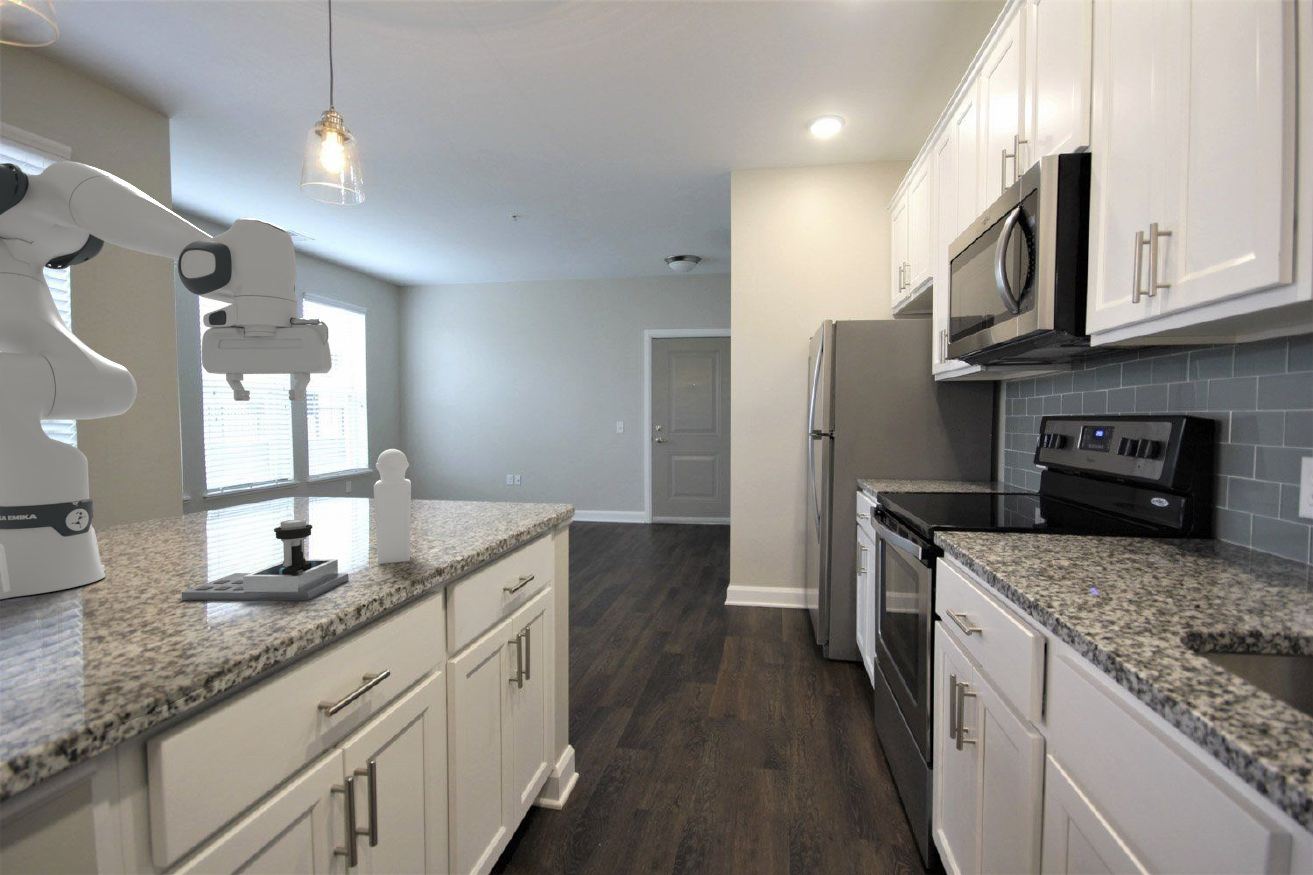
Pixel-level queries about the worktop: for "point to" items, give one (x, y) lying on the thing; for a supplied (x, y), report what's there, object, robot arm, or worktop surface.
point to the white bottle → (392, 508)
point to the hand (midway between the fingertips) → (269, 400)
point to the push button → (293, 545)
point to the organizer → (272, 584)
